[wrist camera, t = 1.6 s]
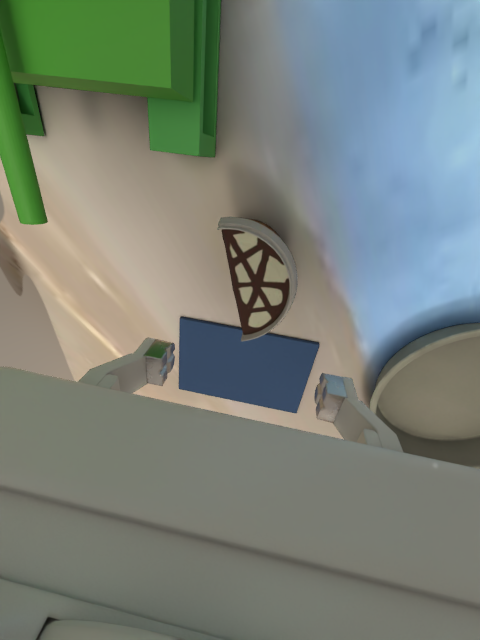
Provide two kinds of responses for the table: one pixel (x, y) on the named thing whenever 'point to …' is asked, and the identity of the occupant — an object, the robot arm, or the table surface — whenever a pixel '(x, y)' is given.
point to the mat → (244, 365)
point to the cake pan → (434, 395)
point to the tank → (107, 73)
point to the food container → (258, 274)
